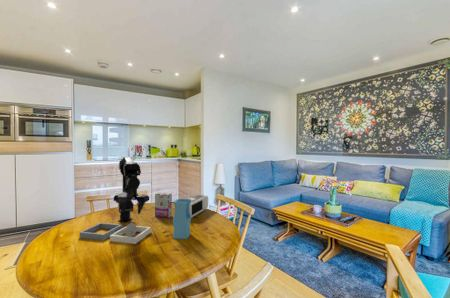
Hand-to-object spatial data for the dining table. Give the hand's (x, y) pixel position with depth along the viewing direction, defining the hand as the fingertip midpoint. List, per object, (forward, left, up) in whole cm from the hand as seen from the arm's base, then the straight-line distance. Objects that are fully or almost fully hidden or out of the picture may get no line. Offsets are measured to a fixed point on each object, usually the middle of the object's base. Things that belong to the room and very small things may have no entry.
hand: (131, 213), depth 119 cm
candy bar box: (-35, +1, -13) cm, 37 cm away
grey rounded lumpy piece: (0, 0, -13) cm, 13 cm away
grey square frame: (0, -19, -13) cm, 23 cm away
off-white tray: (0, 0, -13) cm, 13 cm away
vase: (-7, +27, -13) cm, 31 cm away
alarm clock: (-47, +20, -13) cm, 53 cm away
